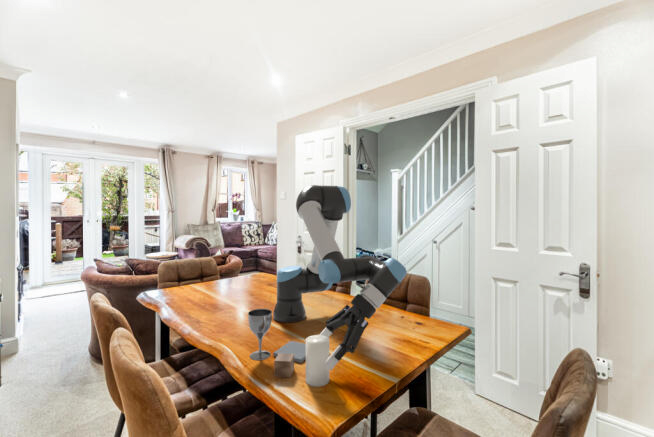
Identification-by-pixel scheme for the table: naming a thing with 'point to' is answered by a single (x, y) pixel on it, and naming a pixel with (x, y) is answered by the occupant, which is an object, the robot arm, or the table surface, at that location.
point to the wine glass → (260, 329)
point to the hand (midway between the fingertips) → (320, 355)
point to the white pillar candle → (317, 360)
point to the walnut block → (284, 365)
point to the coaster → (294, 350)
